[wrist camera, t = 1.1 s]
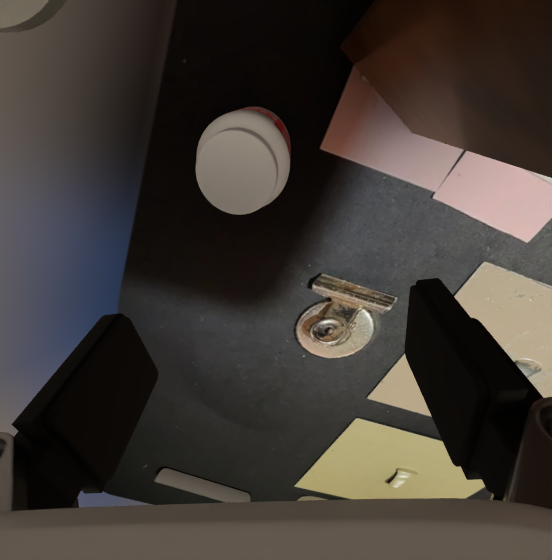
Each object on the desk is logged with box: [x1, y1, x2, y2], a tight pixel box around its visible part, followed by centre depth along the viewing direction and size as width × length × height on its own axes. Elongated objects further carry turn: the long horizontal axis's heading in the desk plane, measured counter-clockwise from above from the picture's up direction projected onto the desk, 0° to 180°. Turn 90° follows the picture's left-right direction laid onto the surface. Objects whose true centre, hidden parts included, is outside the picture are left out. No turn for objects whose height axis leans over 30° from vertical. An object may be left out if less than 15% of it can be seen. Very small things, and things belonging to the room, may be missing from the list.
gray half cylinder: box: [154, 468, 250, 503], centre depth 59 cm, size 4×20×2 cm, turn 60°
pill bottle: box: [196, 107, 291, 215], centre depth 22 cm, size 6×6×11 cm
